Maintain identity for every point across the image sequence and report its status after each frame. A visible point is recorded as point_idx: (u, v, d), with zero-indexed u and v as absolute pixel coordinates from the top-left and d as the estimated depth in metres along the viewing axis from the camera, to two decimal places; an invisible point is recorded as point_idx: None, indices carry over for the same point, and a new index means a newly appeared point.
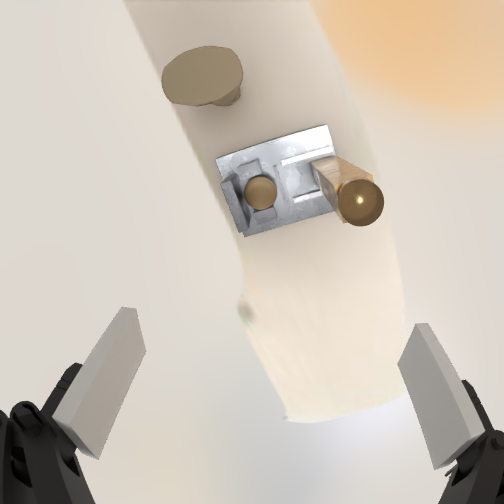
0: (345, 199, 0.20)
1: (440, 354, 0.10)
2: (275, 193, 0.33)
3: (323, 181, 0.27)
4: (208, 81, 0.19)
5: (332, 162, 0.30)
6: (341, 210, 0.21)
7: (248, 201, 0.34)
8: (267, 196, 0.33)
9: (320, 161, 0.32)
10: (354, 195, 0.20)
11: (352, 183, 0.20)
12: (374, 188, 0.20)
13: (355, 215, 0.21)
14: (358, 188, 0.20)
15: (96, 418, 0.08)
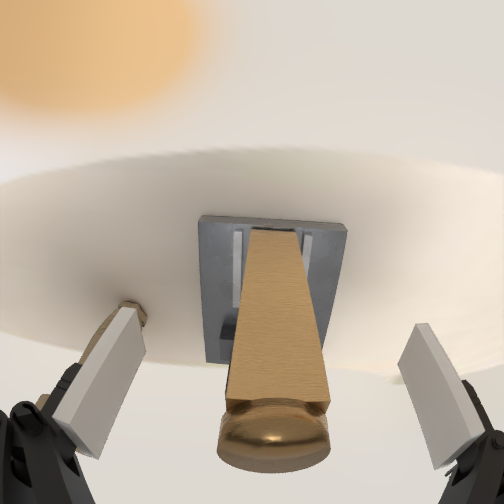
0: (251, 467, 0.08)
1: (440, 354, 0.10)
2: None
3: None
4: None
5: None
6: (271, 472, 0.08)
7: None
8: None
9: None
10: (248, 459, 0.08)
11: (220, 456, 0.08)
12: (247, 438, 0.07)
13: (292, 463, 0.08)
14: (235, 453, 0.08)
15: (96, 418, 0.08)
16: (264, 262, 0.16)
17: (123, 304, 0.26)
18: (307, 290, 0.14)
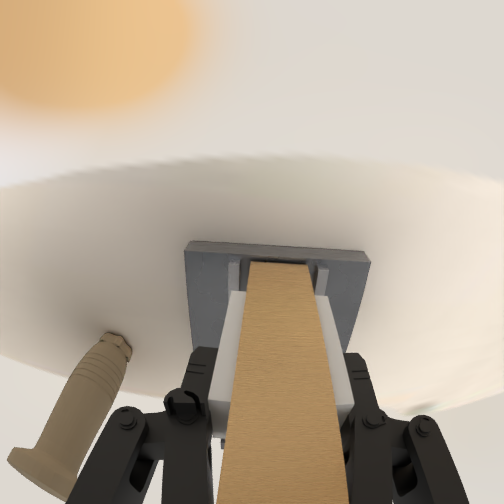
0: None
1: (327, 323, 0.12)
2: None
3: None
4: (50, 490, 0.09)
5: None
6: None
7: None
8: None
9: None
10: None
11: None
12: None
13: None
14: None
15: None
16: (267, 318, 0.12)
17: (104, 337, 0.21)
18: (326, 367, 0.09)
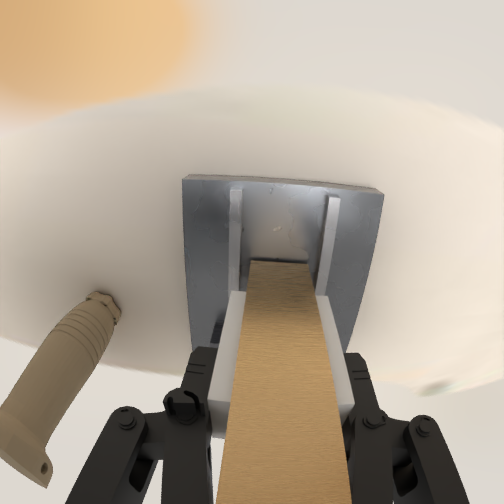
0: None
1: (327, 323, 0.12)
2: None
3: None
4: (10, 460, 0.07)
5: None
6: None
7: None
8: None
9: None
10: None
11: None
12: None
13: None
14: None
15: None
16: (268, 316, 0.12)
17: (91, 295, 0.19)
18: (327, 364, 0.09)
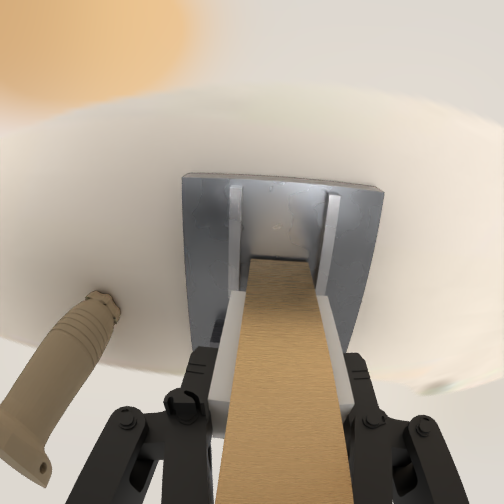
0: None
1: (327, 323, 0.12)
2: None
3: None
4: (9, 459, 0.07)
5: None
6: None
7: None
8: None
9: None
10: None
11: None
12: None
13: None
14: None
15: None
16: (268, 313, 0.12)
17: (91, 294, 0.19)
18: (328, 362, 0.09)
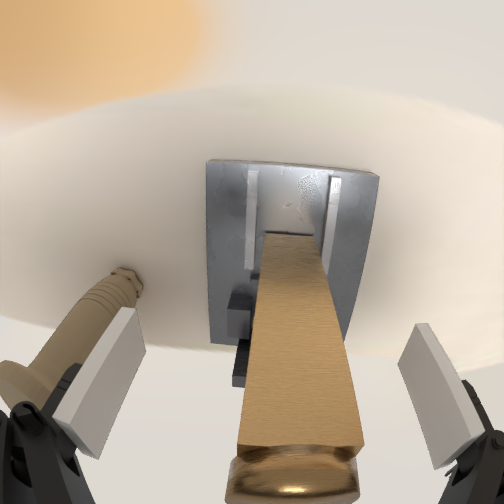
0: None
1: (440, 354, 0.10)
2: None
3: None
4: None
5: None
6: None
7: None
8: None
9: None
10: None
11: (229, 503, 0.06)
12: (263, 492, 0.05)
13: None
14: (246, 502, 0.05)
15: (96, 418, 0.08)
16: (281, 271, 0.14)
17: (116, 270, 0.22)
18: (331, 305, 0.12)
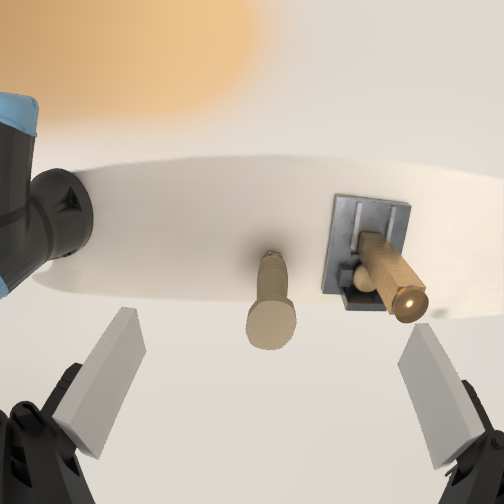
0: (402, 318, 0.24)
1: (440, 354, 0.10)
2: None
3: None
4: (279, 324, 0.28)
5: (368, 254, 0.34)
6: (407, 322, 0.25)
7: (368, 291, 0.38)
8: None
9: (361, 251, 0.37)
10: (404, 312, 0.24)
11: (396, 311, 0.24)
12: (408, 297, 0.23)
13: (416, 314, 0.24)
14: (401, 308, 0.24)
15: (96, 418, 0.08)
16: (379, 247, 0.33)
17: (271, 252, 0.40)
18: (402, 258, 0.30)
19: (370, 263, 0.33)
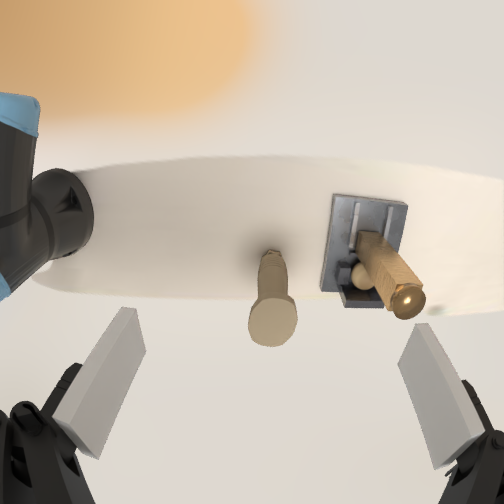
0: (400, 314, 0.25)
1: (440, 354, 0.10)
2: None
3: None
4: (280, 321, 0.29)
5: (366, 252, 0.35)
6: (405, 318, 0.25)
7: (366, 289, 0.38)
8: None
9: (359, 250, 0.37)
10: (402, 308, 0.25)
11: (394, 308, 0.25)
12: (406, 294, 0.24)
13: (413, 310, 0.25)
14: (399, 305, 0.25)
15: (96, 418, 0.08)
16: (377, 246, 0.33)
17: (271, 251, 0.41)
18: (399, 256, 0.31)
19: (368, 261, 0.34)
